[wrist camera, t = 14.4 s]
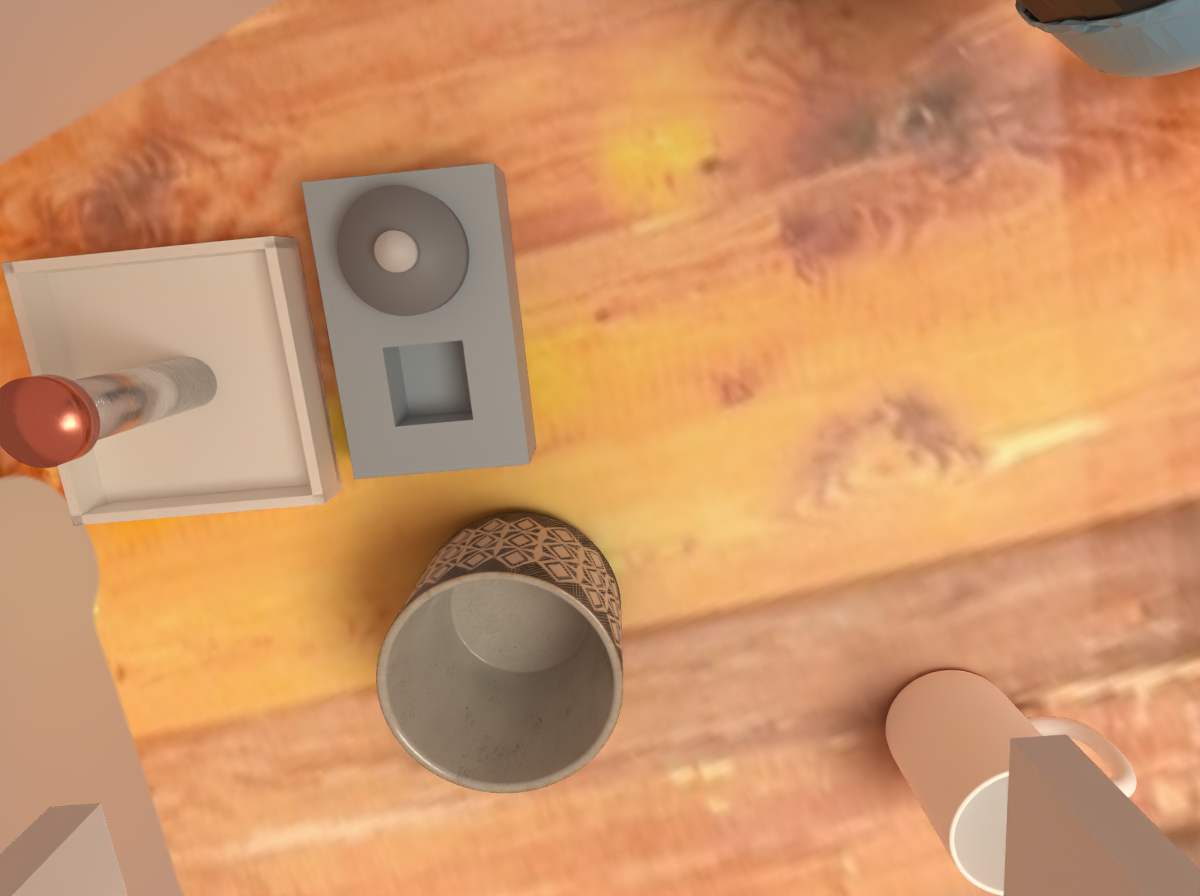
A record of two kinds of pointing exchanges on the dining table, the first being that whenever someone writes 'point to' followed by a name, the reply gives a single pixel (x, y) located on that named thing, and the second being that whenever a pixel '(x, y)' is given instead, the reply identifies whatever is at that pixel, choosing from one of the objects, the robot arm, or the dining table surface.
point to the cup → (974, 762)
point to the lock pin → (95, 407)
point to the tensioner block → (423, 319)
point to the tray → (177, 330)
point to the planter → (506, 656)
